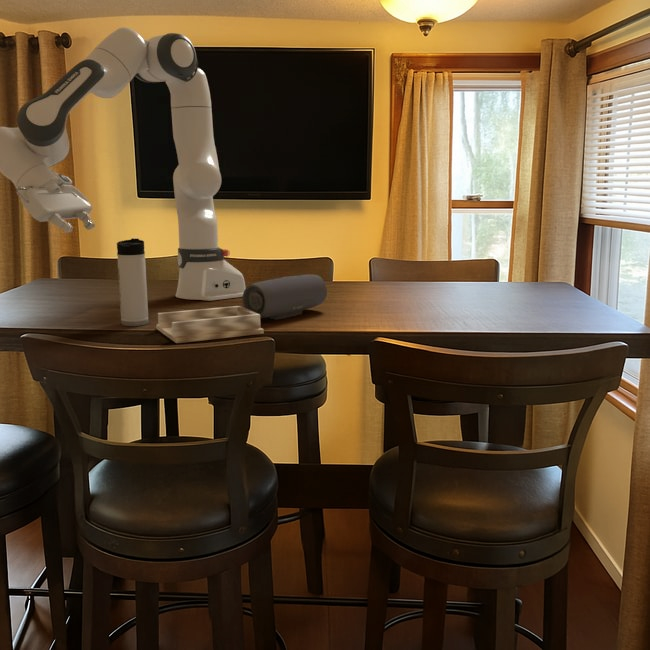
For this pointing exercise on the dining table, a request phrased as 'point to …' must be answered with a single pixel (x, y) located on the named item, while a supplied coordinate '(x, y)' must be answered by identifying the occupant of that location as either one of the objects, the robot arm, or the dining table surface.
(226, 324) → the tray
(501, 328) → the dining table surface
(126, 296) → the travel mug
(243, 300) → the bluetooth speaker
